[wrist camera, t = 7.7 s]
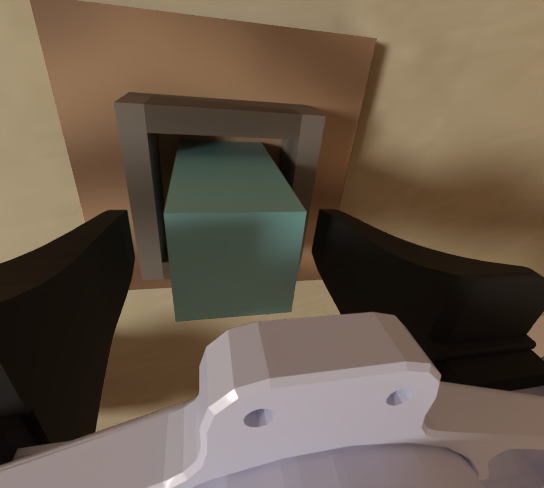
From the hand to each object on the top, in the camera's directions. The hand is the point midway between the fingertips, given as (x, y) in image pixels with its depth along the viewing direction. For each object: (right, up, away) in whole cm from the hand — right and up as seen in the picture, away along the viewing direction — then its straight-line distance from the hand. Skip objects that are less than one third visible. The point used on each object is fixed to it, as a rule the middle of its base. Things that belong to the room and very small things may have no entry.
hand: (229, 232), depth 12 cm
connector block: (-1, +3, +4) cm, 5 cm away
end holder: (-1, +3, +5) cm, 7 cm away
